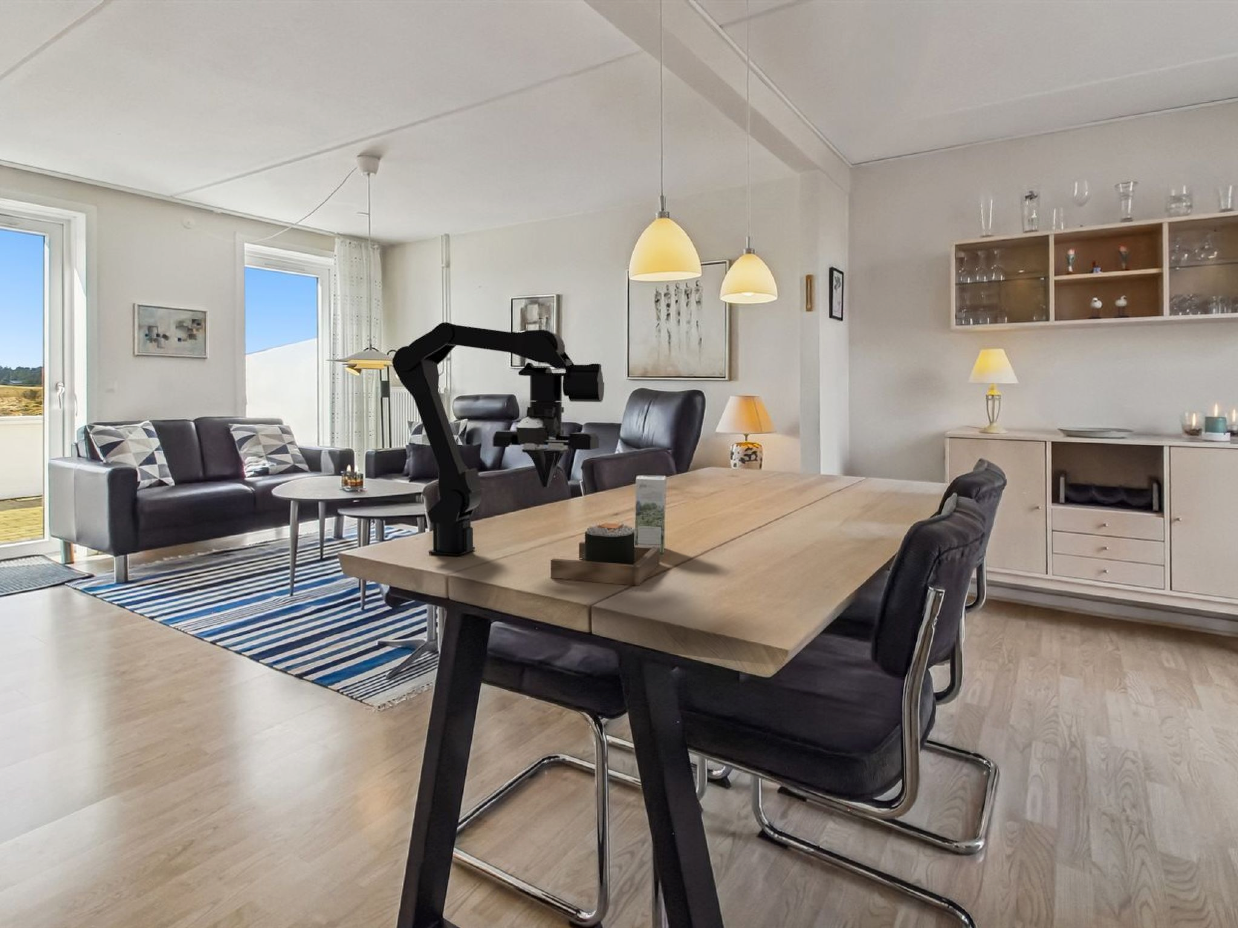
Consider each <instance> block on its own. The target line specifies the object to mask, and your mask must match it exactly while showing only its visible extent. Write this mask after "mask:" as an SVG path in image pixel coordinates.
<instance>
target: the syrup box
mask: <svg viewBox="0 0 1238 928" xmlns="http://www.w3.org/2000/svg"><path fill="white" fill-rule="evenodd" d="M666 496H667V476H666V475H643V474H642V475H637V476H636V478H635V501H634V502H635V505H634V506H635V510H634V515H635V517H634V518H635V519H634V521H635V522H634V529H635V546H648V547H660V554H664V553H665V546H666V542H665V541H666V539H665V538H666V533H665V532H666V526H665V525H666V502H667V499H666Z"/></svg>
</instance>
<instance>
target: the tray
mask: <svg viewBox="0 0 1238 928" xmlns="http://www.w3.org/2000/svg"><path fill="white" fill-rule="evenodd" d="M578 547H579V548H578V560H576V559H566V558H565V559H564V558H555V557H554V558H552V559H551V560H550V578H551V579H555V578H564V579H563V580H567V579H571V580H570V581H578V580H582V581H581V582H589V581H594V582H593V583H600V584H601V583H603V584H612V583H613V585H623V584H626V586H635V587H639V586H640V585H641V584H642V583H643V582H644V581H645V580H646V579H647V578H648V577H649V576H650V575H651V573H652V572H653V571H654V570H656V568H657V567H658V566H659V565H660V562H661V560H660V559H661V557H660V556H661V553H660V547H648V546H634V565H629V564H617V563H604V562H592V561H585V560H584V559H585V541H580V542H579V543H578ZM579 558H582V559H581V560H580V559H579Z"/></svg>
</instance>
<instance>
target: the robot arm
mask: <svg viewBox="0 0 1238 928" xmlns="http://www.w3.org/2000/svg"><path fill="white" fill-rule="evenodd" d="M457 346H459V347H460V346H461V347H466V348H467V347H468V348H473V349H482V350H489V351H490V350H491V351H495V352H496V351H497V352H502V353H510V354H513V355H515V356H519V357H521V358H525V359H527V360H530V361H534V362H537V363H540V364H546V365H549V366H535V365H534V364H533V363H532V362H527V363H526V364H525V365H524V367H523V368H521V369H520V370H519V371H518V373H517V374H518V375H519V376H522V377H529V406H527V407H526V408H527V409H526V416H525V417H524V418H522V419H521V420H520V421H519V422H518V423H517V424H516V425H515V430H508V429H507V430H506V429H505V430H496V431H495V432H494V434H493V435H492V447H496V448H497V447H498V448H509V447H510V446H522V445H523V449H521V451H522V452H521V453H526V454H527V455H528V457H530V459H531V461H532V462H533V465H534V466H535V469H536V472H537V475H538V478H539V481H540V484H541V487H542V488H545V489H546V488H549V487H550V484H551V482H552V479H553V477H554V475H555V472H556V469H557V467H558V464H559V463H560V461H561V459H562V458H563V455H564V454H566V453H568V452H569V453H570V448H571V450H576V451H578V450H579V451H581V450H582V451H590V450H591V451H592V450H596V449H599V448H600V439H599V435H598V434H597V432H583V431H581V432H578V431H577V432H572V433H571V432H570V433H569V435H565V432H564V431H565V430H564V428H562V427H563V425H562V422H563V421H562V420H563V417H562V416H563V415H562V414H563V413H565V412H564V411H565V408H564V407H563V406H562V404H563V403H562V401H563V399H562V398H563V396H564V397H568V400H569V402H571V403H572V402H576V403H602V402H603V400H604V396H605V395H604V394H605V382H604V376H603V372H602V364H601V363H590V364H589V363H588V364H575V363H574V362H573V360H572V359H571V358H570V357H569V355H568V354H567V352H566V348H565V347H566V345H565V342H564V340H563V339H562V337H561V336H560V335H559V334H557V333H554V332H552V331H549V330H545V329H530V330H520V331H505V330H504V331H503V330H499V329H498V330H496V329H491V328H482V327H474V326H465V325H459V324H453V323H450V322H447V321H446V322H441V323H438V325H436V326H435V327H434V328H433V329H432V330H431V331H429V332H427V333H425V334H423V335H421V336H420V337H419V338H417V339H415V340H413V341H412V342H411V343H410V344H409V345H405V346H402V347H400V348H399V349H397V350H396V352H395V353H394V355H393V357H392V361H391V363H392V368H393V369H394V372H395V374H396V376H397V377H398V379H399V381H400V383H401V384H402V385H403V387H404V388H405V389H406V390H407V391H408V393H409V394H410V395H411V396H412V398H413V400H414V403H415V406H416V408H417V412H418V415H419V417H420V421H421V423H422V426H423V429H424V432H425V434H426V437H427V440H428V442H429V446H430V449H431V452H432V454H433V457H434V460H435V463H436V466H437V468H438V469H437V470H438V474H437V475H438V477H437V480H438V481H437V490H438V495H439V500H438V501H437V502H436V503H435V504H434V505H433V506H432V507H431V508H430V509H429V510H428V511H427V515H428V518H429V521H430V523H432V548H433V549H431V550H428V554H430V555H442V556H451V557H452V556H453V557H460V556H463V555H466V554H468V553H470V552H472V551H474V550H475V549H476V547H475V546H474V528H473V527H472V525H471V524H472V523H471V521H472V520H471V517H472V515H473V514H474V511H475V509H476V508H477V507H478V506H479V505H480V504H481V502H482V500H483V491H482V490H483V489H485V486H484V485H483V484H482V483H481V479H480V475H479V470H478V469H477V468H475V467H474V468H472V469H470V468H468V467H467V465H466V464H465V463H464V460H463V458H462V456H461V454H460V450H459V447H458V445H457V441H456V439H455V435H454V433H453V430H452V427H451V424H450V422H449V418H448V415H447V413H446V409H445V407H444V404H443V401H442V398H441V396H440V392H439V385H440V383H439V382H440V374H439V368H438V365H440V363H442V362H443V361H444V360H445V359H446V358H447V357H448V356H449V354H450V353H451V351H452V350H453V349H454V348H455V347H457ZM550 366H551V367H552V368H554V369H560V370H563V371H565V372H553V371H552V369H551V367H550ZM562 393H563V394H562ZM562 395H563V396H562ZM544 445H545V446H548V447H544ZM568 446H569V447H570V448H568Z"/></svg>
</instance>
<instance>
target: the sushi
mask: <svg viewBox="0 0 1238 928" xmlns="http://www.w3.org/2000/svg"><path fill="white" fill-rule="evenodd" d="M584 542H585V560H584V561H592V562H604V563H617V564H629V565H634V546H635V528H633V527H632V526H629V525H627V524H625V525H624V523H623V522H621V524H616V523H611V522H604V523H602V524H600V523H599V524H595V525H594V526H588V527H587V528H586V530H585V532H584Z"/></svg>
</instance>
